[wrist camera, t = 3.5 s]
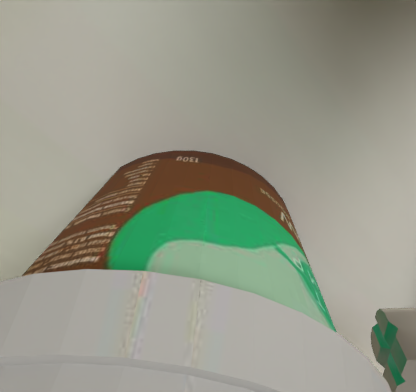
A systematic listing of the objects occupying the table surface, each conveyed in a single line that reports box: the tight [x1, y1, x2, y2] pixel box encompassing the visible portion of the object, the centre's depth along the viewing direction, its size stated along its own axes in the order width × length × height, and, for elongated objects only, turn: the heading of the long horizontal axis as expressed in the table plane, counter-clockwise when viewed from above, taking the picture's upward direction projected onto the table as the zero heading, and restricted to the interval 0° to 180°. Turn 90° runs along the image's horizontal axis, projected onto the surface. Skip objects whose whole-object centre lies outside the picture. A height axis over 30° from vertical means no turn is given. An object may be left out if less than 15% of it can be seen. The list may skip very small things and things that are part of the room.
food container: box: [0, 151, 392, 392], centre depth 10 cm, size 12×6×10 cm, turn 32°
